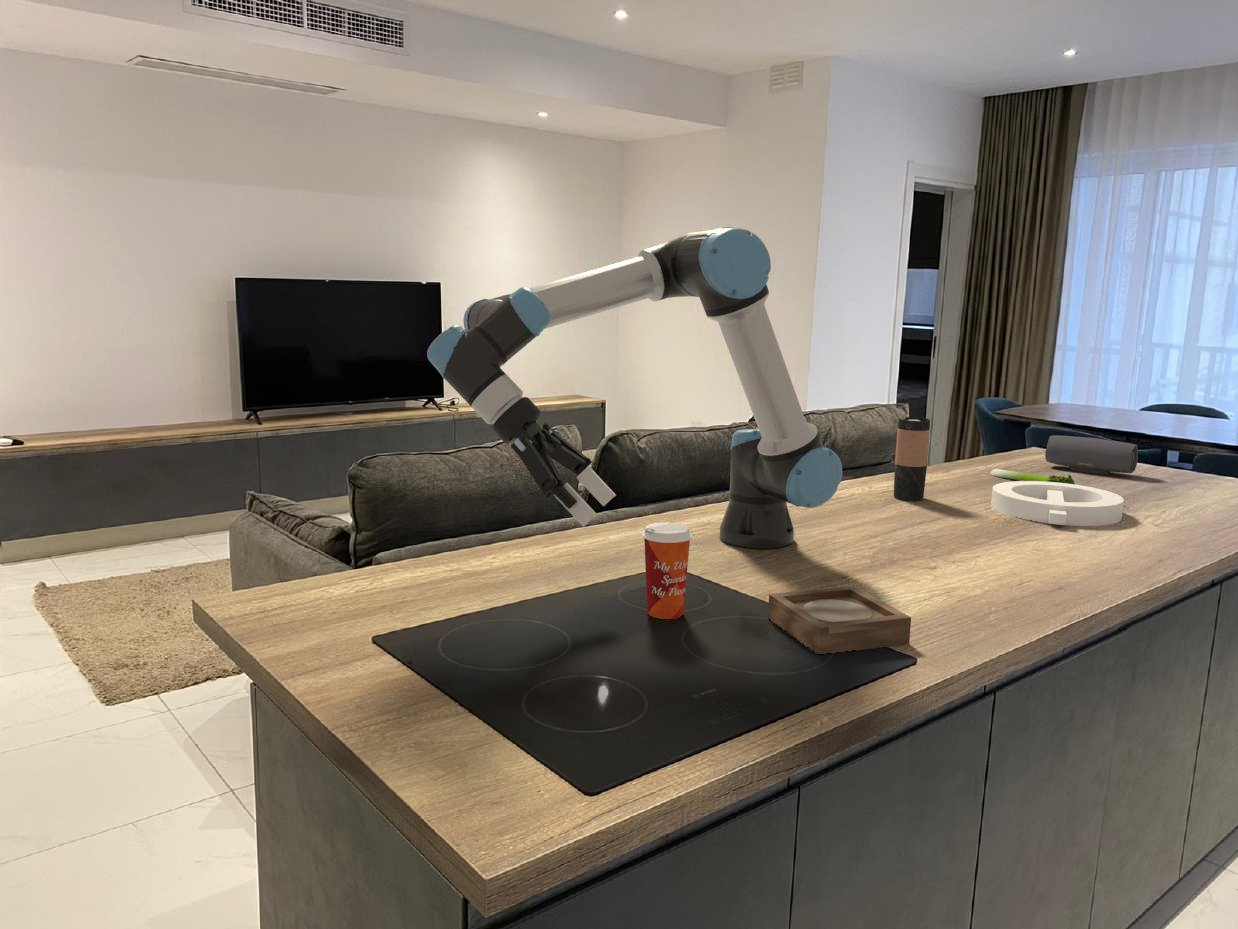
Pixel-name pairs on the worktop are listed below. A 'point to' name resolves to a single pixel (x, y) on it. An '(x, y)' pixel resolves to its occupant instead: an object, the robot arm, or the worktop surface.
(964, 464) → the worktop surface
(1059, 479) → the leek
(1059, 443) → the bluetooth speaker
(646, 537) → the paper cup
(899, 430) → the travel mug
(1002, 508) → the white circle with bar
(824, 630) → the wooden coaster holder
